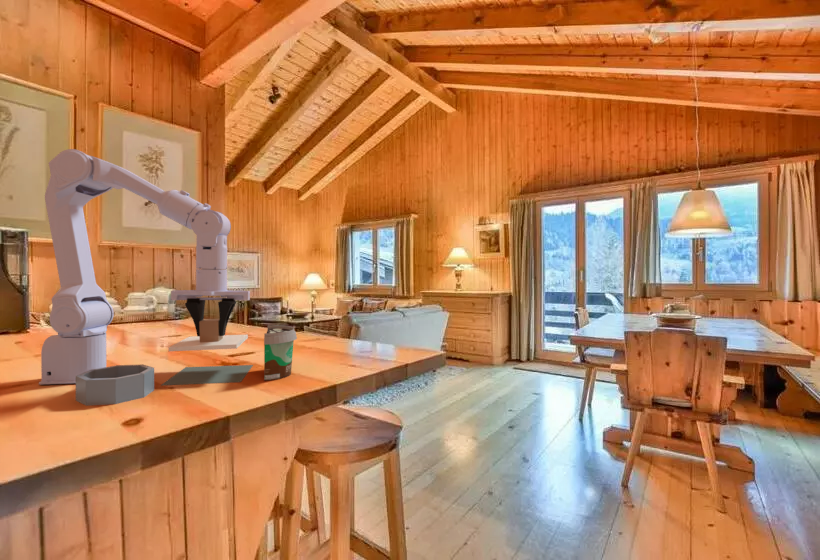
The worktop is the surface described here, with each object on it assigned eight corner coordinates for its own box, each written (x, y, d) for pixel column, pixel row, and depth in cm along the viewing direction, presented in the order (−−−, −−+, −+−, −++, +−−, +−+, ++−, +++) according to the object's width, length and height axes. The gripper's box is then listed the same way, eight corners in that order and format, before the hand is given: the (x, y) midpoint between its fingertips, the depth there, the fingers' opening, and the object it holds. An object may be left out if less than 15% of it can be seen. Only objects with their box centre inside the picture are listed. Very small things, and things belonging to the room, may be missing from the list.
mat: (160, 387, 75) (160, 385, 75) (185, 369, 89) (185, 367, 89) (240, 384, 78) (240, 381, 78) (253, 367, 92) (253, 364, 92)
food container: (297, 383, 79) (297, 332, 79) (263, 385, 77) (264, 333, 77) (296, 368, 91) (296, 324, 91) (267, 370, 89) (267, 325, 89)
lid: (168, 351, 76) (168, 325, 76) (189, 340, 88) (188, 317, 88) (236, 348, 78) (236, 322, 78) (247, 338, 90) (247, 315, 90)
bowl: (64, 409, 63) (64, 380, 63) (99, 390, 73) (99, 365, 73) (136, 405, 65) (136, 378, 65) (160, 387, 75) (160, 363, 75)
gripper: (165, 268, 77) (165, 339, 78) (245, 270, 80) (245, 338, 81) (178, 268, 84) (177, 333, 84) (251, 269, 87) (251, 332, 88)
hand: (211, 335), depth 83 cm, fingers closed on lid, 3 cm apart
